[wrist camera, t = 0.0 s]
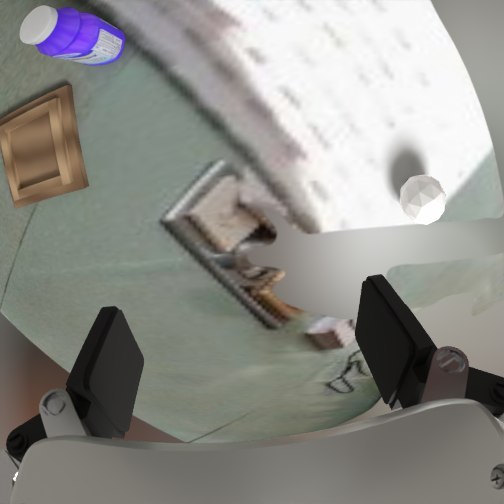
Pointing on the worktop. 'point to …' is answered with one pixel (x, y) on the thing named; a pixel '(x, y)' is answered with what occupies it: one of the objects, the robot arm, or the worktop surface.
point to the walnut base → (43, 149)
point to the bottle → (72, 35)
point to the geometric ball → (422, 199)
